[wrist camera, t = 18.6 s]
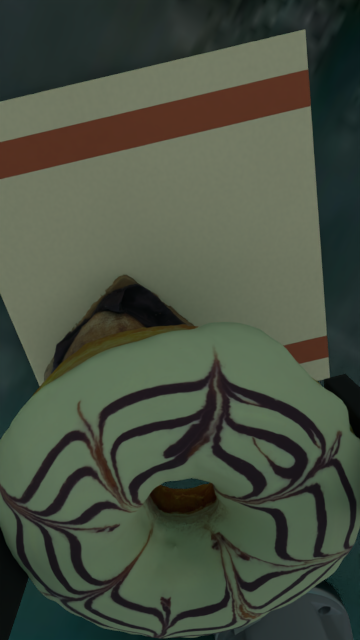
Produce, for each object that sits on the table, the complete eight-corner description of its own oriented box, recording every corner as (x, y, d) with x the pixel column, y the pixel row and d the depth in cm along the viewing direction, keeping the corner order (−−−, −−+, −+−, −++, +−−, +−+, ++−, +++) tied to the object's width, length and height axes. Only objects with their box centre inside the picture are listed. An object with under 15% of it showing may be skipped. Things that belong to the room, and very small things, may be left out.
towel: (326, 374, 28) (330, 378, 28) (64, 435, 28) (62, 440, 28) (301, 33, 20) (305, 28, 19) (-68, 121, 20) (-75, 119, 20)
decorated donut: (235, 237, 10) (283, 261, 6) (362, 470, 13) (438, 570, 10) (-41, 412, 11) (-133, 515, 7) (143, 581, 14) (141, 705, 11)
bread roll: (122, 426, 28) (117, 458, 24) (35, 369, 25) (16, 396, 22) (208, 335, 26) (216, 356, 22) (120, 265, 23) (114, 276, 20)
